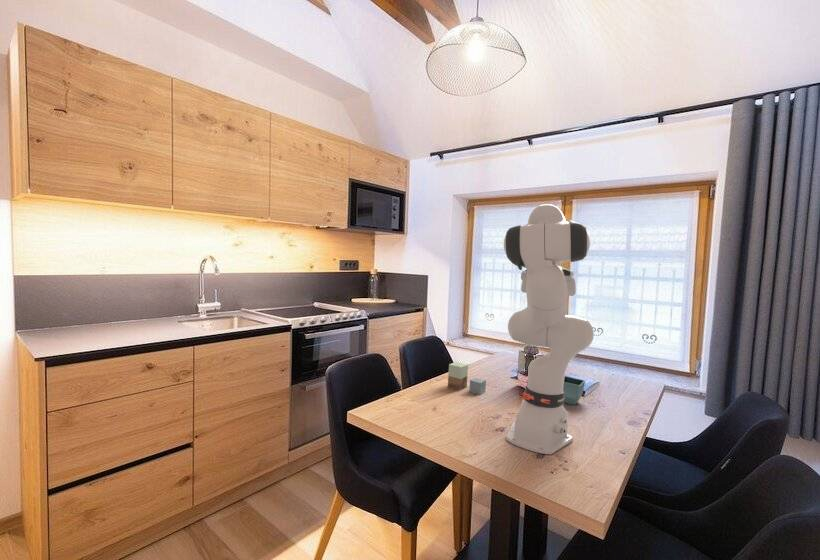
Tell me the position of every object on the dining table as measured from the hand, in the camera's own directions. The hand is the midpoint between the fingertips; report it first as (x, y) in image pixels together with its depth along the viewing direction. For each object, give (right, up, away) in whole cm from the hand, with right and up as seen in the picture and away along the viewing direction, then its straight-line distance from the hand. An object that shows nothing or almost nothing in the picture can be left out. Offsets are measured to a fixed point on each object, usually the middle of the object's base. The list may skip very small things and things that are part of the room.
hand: (546, 305), depth 149 cm
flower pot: (+10, -39, +3) cm, 41 cm away
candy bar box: (-2, -38, +17) cm, 42 cm away
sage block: (-33, -31, +14) cm, 48 cm away
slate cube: (-26, -37, +10) cm, 46 cm away
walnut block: (-33, -36, +14) cm, 51 cm away
